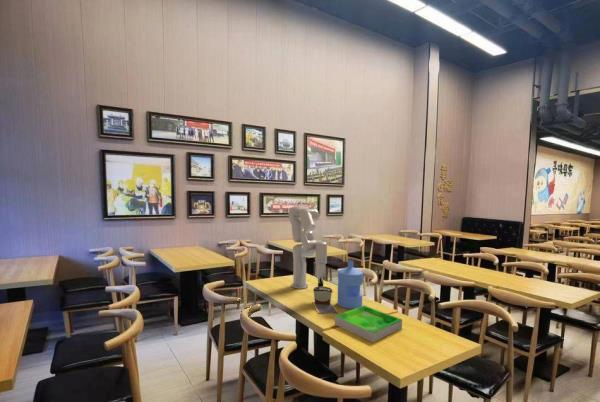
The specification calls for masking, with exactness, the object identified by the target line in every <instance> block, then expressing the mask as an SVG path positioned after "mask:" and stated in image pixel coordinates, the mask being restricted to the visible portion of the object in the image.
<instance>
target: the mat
mask: <svg viewBox="0 0 600 402" xmlns="http://www.w3.org/2000/svg"><path fill="white" fill-rule="evenodd" d="M311 303H312V305H313V307H314V309H315V310H316V312H317V314H319V315H321V314H323V315H324V314H338V313H339V310H337V308H336V307H335V305H334V304H333V302H332V301H330V306H329V305H315V301H312V302H311Z"/></svg>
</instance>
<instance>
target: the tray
mask: <svg viewBox="0 0 600 402" xmlns="http://www.w3.org/2000/svg"><path fill="white" fill-rule="evenodd" d="M335 324H336V325H335ZM334 325H335V326H338V327H340V328H342V329H344V330H346V331H348V332H350V333H353V334H354V335H357V336H359V337H361V338H364V339H366V340H367V341H370V342H372V343H374V342H377V341H379V340H381V339H383V338H384V337H387V336H389V335H391V334H393V333H394V332H397V331H399V330H401V329H402V328H403V319H402V318H399V317H396V316H394V315H391V314H389V313H386V312H382V311H380V310H378V309H376V308H372V307H370V306H367V305H362V306H361V307H358V308H356V309H351V310H350V309H349V310H347V311H345V312H343V313H339V314H337V315H336V314H335V316H334Z"/></svg>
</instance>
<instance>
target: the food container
mask: <svg viewBox="0 0 600 402" xmlns="http://www.w3.org/2000/svg"><path fill="white" fill-rule="evenodd" d="M312 292H313V298H314V302H315V305H329V306H330V301H331V300H332V299H331V298H332V294H333V289H332V288H331V287H329V286H324V285H323V286H320V287H318V286H315V287H314V288H313V290H312ZM331 302H332V301H331Z"/></svg>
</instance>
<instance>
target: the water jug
mask: <svg viewBox="0 0 600 402" xmlns="http://www.w3.org/2000/svg"><path fill="white" fill-rule="evenodd" d="M347 261H348V263H347V266H346V267H344V268H342V269H339V270H337V271H338V272H337V305H338V306H339V307H341V308H344V309H349V310H350V309H351V310H353V309H356V308H358V307H361V306H363V293H362V292H361V286H362V285H363V280H364V272H362V271H361V270H360V269H358V268H356V267H354V260H352V259H350V260H349V259H348V260H347Z"/></svg>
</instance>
